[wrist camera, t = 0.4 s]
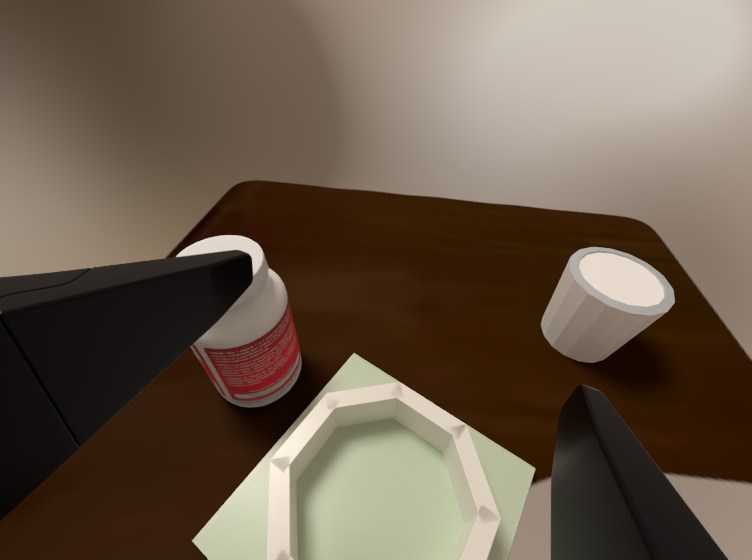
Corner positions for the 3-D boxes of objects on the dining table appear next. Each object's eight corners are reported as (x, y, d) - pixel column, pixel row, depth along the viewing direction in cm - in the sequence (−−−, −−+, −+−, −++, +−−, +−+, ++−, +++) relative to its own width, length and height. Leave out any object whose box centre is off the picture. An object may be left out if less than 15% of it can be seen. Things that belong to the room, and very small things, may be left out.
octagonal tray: (425, 808, 13) (443, 858, 10) (196, 542, 18) (169, 531, 15) (531, 471, 21) (556, 452, 18) (354, 357, 26) (353, 329, 24)
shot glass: (610, 314, 30) (660, 257, 25) (627, 380, 26) (691, 326, 21) (532, 296, 32) (565, 237, 27) (534, 355, 27) (574, 298, 22)
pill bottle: (317, 353, 26) (300, 244, 18) (271, 425, 22) (224, 325, 14) (252, 326, 28) (211, 215, 20) (198, 389, 24) (120, 281, 16)
